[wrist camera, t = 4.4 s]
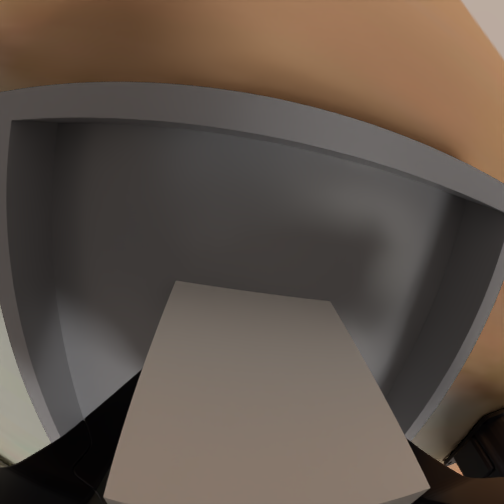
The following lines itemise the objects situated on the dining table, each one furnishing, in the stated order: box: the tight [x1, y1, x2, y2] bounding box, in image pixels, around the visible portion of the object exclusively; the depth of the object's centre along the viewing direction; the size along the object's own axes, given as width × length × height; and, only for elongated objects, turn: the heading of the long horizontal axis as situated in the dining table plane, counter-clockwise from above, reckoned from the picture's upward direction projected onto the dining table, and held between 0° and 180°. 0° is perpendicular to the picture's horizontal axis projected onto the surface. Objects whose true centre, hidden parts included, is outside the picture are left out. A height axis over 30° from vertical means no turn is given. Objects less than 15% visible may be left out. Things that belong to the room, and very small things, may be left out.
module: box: [103, 281, 430, 504], centre depth 7 cm, size 5×5×7 cm
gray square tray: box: [0, 82, 504, 443], centre depth 9 cm, size 16×16×3 cm
